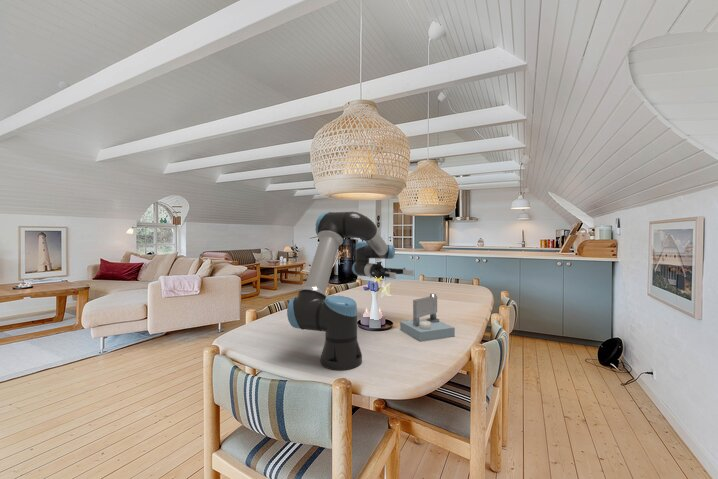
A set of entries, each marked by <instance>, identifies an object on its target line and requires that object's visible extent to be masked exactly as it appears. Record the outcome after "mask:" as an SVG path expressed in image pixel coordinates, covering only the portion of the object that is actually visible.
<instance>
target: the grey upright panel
mask: <svg viewBox="0 0 718 479" xmlns="http://www.w3.org/2000/svg"><path fill="white" fill-rule="evenodd" d="M412 312H413V313H412V315H413V316H412V320H413V325H415V326H418V325H419V319H420V318H422V317H426V316H428V315H429V318H430V320H436V318H437V313H438V295H437V293H430V294H429V296H426V297H420V298H416V299H413V300H412Z"/></svg>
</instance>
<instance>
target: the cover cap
mask: <svg viewBox="0 0 718 479" xmlns="http://www.w3.org/2000/svg"><path fill="white" fill-rule="evenodd" d="M419 324H420V328H421V329H431V322H430V321H420V322H419Z"/></svg>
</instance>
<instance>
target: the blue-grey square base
mask: <svg viewBox="0 0 718 479" xmlns="http://www.w3.org/2000/svg"><path fill="white" fill-rule="evenodd" d="M420 321H430V322H431V329H421V328H420V324H419V325H418V326H415V325H413V319H411V320H402V321H400V322H399V323H400V325H399V330H400V331H402V332H404V334H407V335H408V336H410V337H412V338H414V339H415V340H417V341H419V342H425V341H433V340H439V339H446V338H453V337H455V330H456V329H455V326H452V325H450V324H447V323H444V322H442V321H441V320H440V318H437V317H436V320H430V317H427V318H419V322H420Z"/></svg>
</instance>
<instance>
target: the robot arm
mask: <svg viewBox="0 0 718 479" xmlns="http://www.w3.org/2000/svg"><path fill="white" fill-rule="evenodd" d="M315 233H316V236H317V238H318V240H319V242H318V244H317V246H316V251H315V254H314V256H313V260H312V263H311V266H310V269H309V273H308V276H307V278H306V282H305V285H304V287H303V288H302V289H299V291H298V294H297V296H294V297H292V298H290V299H289V301H288V304H287V309H286V315H287V320H288V322H289V324H290V326H291V327H292V328H294V329H300V330H303V331H304V330H305V331H306V330H307V331H314V332H315V331H317V332H325V333H324V334H325V341H324V344H323V348H322V350H321V354H320V364H321V365H322V367H324V368H326V369H329V370H335V371H337V370H338V371H343V370H344V371H345V370H350V369H354V368H357V367H358V366H360V365H362V363H363V354H362V351H361V348H360V344H359V342H358V307H357V302H356V300H354V299H353V298H351V297H349V296H344V295H328V296H327V294H326V293H327V292H326V291H327V288H328V286H329V281H330V277H331V273H332V271H333V267H334V263H335V260H336V255H337V252H338V249H339V246H341V245H342V244H343V243H344V241H345V239H350V238H351V239H353V238H356V239H360V240H361V241H356V243H355V261H354V263H353V264H352V266H351V271H352V273H353V274H354V275H356V276H360V277H368V278H369V279H372V278H373V279H380V277H381V276H382V277H381V279H383V280H384V279H385V278H386V279H392V280H395V279H396V278H397V277H396V276H397V275H405V276H412V277H414V276H415V271H414V270H413V269H412V270H411V269H407V268H405V267H403V268H391V267H384V265H382V264H380V263H373V262H370V259H378V260H379V259H380V260H381V259H382V260H383V259H384V260H386V259H387V260H390V259H394V258H395V257H396V256H395V255H396V248H395V246H394V245H392V244H387V243H386V241H385V240H384V238H383V237H382V236H381V234H380V233H379V231H378V227H377V225H376V224H375V222H374V221H372V219H370V218H369V217H368V216H366V215H364V214H362V213H359V212H356V211H340V212H339V211H338V212H337V211H336V212H331V211H328V212H323V213H322V214H320V215H318V217H317V219H316V222H315ZM375 276H376V277H377V278H376V277H375Z"/></svg>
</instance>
